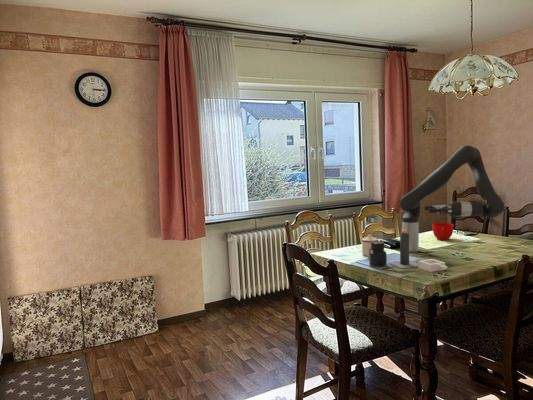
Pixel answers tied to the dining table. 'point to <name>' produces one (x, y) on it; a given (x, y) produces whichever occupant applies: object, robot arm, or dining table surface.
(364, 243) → the teacup with lid
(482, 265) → the dining table surface
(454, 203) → the robot arm
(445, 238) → the ceramic cup
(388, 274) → the dining table surface
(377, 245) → the ink bottle
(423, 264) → the square ring with handle
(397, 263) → the grey felt mat
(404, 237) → the black cable stub
